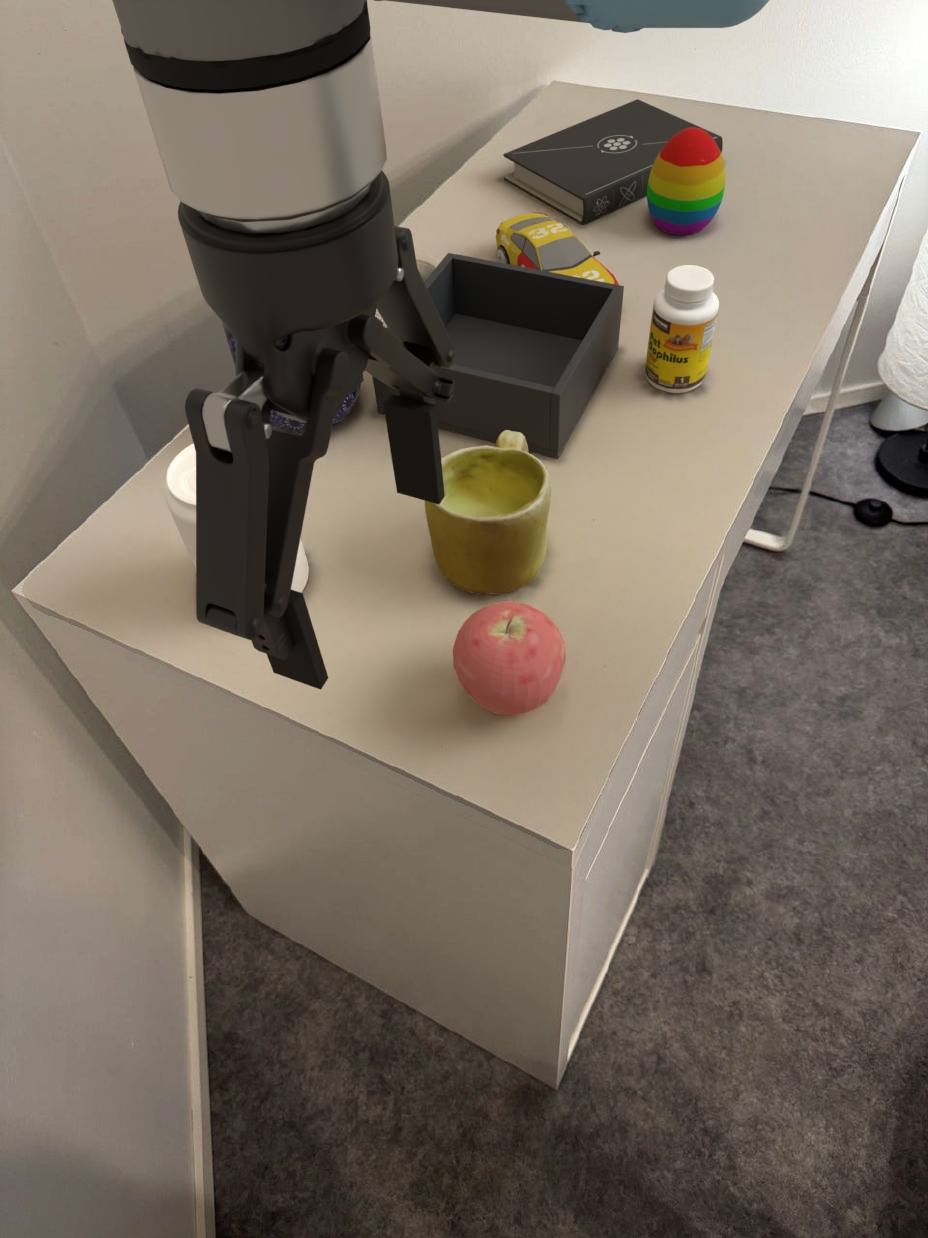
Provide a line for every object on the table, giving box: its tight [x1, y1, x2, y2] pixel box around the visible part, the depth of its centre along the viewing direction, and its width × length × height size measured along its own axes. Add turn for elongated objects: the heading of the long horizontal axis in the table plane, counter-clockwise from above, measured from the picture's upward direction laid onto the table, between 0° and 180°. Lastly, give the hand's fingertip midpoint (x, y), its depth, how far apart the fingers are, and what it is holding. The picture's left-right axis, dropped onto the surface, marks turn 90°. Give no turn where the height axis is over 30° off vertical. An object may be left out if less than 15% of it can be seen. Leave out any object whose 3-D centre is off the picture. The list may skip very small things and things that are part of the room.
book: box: [503, 99, 724, 225], centre depth 107 cm, size 22×15×3 cm
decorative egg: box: [646, 127, 726, 236], centre depth 96 cm, size 8×8×10 cm
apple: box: [452, 600, 567, 716], centre depth 60 cm, size 7×7×8 cm
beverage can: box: [164, 442, 310, 593], centre depth 66 cm, size 8×8×12 cm
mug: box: [424, 430, 552, 596], centre depth 69 cm, size 12×10×10 cm
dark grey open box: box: [371, 252, 625, 459], centre depth 82 cm, size 18×17×7 cm
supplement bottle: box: [644, 264, 720, 394], centre depth 80 cm, size 6×6×10 cm
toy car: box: [495, 212, 620, 285], centre depth 92 cm, size 8×17×5 cm, turn 26°
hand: (365, 578), depth 48 cm, fingers open, 13 cm apart
